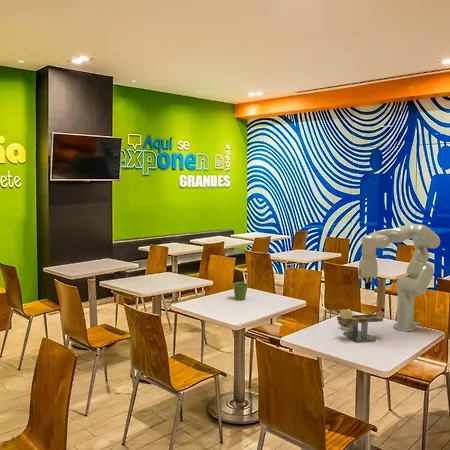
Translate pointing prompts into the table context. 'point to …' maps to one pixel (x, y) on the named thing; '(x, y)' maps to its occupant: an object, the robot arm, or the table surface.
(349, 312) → the block
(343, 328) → the teacup with lid
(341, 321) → the balance beam
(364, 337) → the pivot stand
